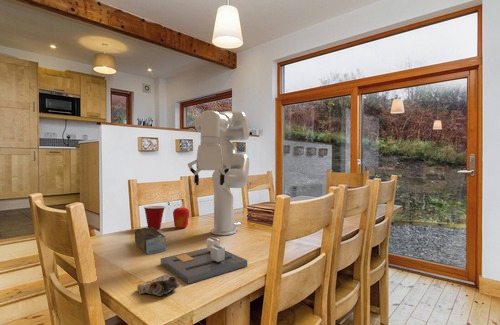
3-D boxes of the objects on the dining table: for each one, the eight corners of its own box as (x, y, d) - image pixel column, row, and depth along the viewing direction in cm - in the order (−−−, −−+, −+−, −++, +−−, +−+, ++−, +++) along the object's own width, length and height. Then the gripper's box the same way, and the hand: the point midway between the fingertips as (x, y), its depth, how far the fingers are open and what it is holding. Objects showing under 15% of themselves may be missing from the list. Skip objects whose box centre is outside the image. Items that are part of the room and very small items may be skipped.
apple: (191, 228, 146) (191, 206, 146) (175, 230, 142) (175, 207, 142) (186, 225, 154) (186, 203, 154) (171, 226, 150) (171, 204, 150)
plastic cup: (169, 227, 149) (169, 204, 149) (158, 232, 139) (159, 207, 138) (150, 226, 151) (150, 203, 151) (138, 230, 141) (139, 207, 140)
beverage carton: (145, 255, 105) (145, 238, 105) (134, 243, 121) (133, 227, 121) (166, 251, 110) (166, 234, 110) (152, 240, 125) (152, 225, 125)
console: (215, 251, 110) (215, 245, 110) (247, 266, 94) (247, 259, 94) (160, 264, 96) (160, 257, 96) (188, 284, 80) (188, 276, 80)
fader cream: (213, 247, 106) (213, 236, 106) (219, 250, 103) (219, 238, 103) (207, 249, 104) (207, 237, 104) (212, 252, 101) (212, 239, 101)
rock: (183, 288, 78) (157, 274, 83) (182, 271, 76) (156, 258, 81) (159, 310, 71) (132, 293, 75) (158, 291, 69) (131, 276, 74)
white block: (218, 256, 96) (218, 243, 96) (224, 259, 93) (224, 246, 93) (210, 258, 94) (210, 245, 94) (217, 261, 91) (217, 248, 91)
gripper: (229, 143, 118) (228, 184, 117) (187, 142, 113) (186, 184, 112) (233, 142, 111) (232, 185, 110) (188, 140, 106) (188, 185, 105)
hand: (209, 185), depth 111 cm, fingers open, 9 cm apart
